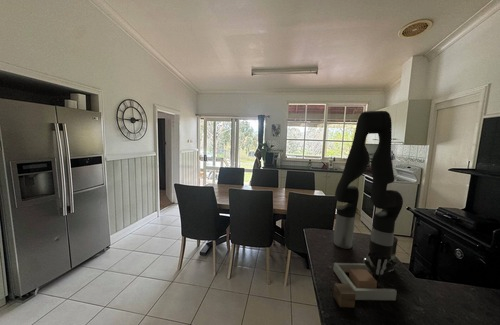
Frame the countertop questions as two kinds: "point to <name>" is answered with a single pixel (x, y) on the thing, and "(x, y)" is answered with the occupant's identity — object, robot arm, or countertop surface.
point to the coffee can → (392, 253)
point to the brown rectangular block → (362, 279)
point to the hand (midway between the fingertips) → (376, 281)
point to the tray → (362, 292)
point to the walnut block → (344, 295)
